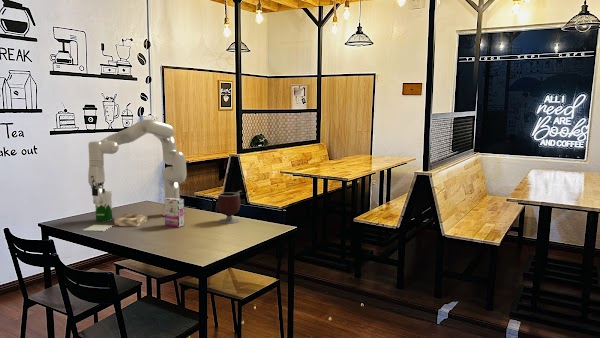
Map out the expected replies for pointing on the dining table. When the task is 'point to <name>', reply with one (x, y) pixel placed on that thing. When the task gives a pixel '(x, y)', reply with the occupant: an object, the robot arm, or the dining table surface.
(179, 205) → the candy bar box
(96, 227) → the rubber mat
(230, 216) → the mate gourd
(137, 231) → the dining table surface
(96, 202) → the silver metal can
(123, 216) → the housing block
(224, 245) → the dining table surface
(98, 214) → the milk carton
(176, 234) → the dining table surface
